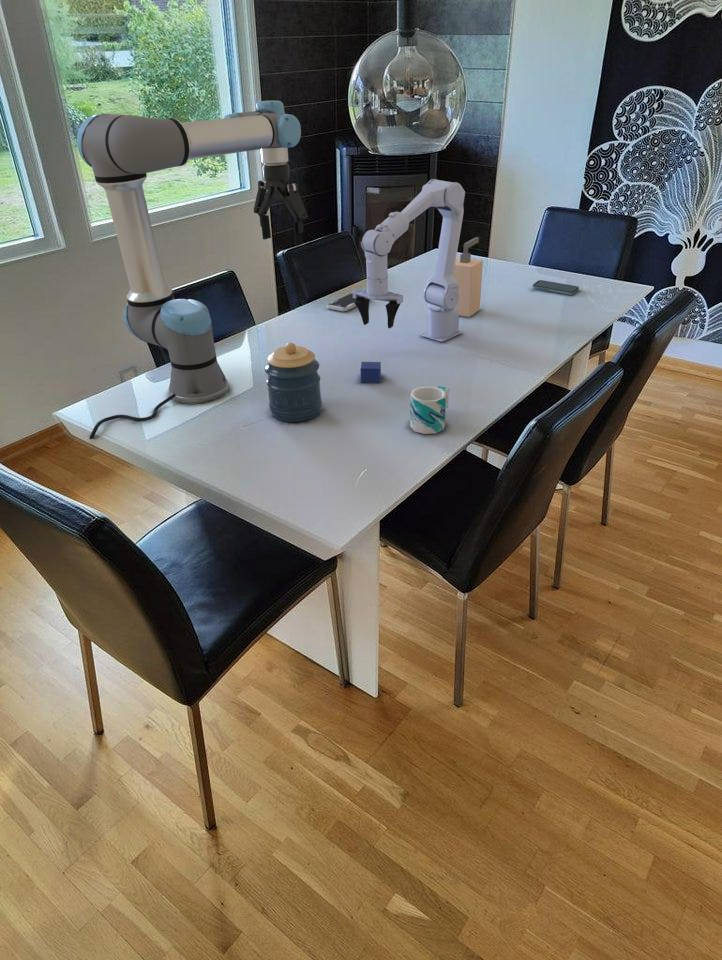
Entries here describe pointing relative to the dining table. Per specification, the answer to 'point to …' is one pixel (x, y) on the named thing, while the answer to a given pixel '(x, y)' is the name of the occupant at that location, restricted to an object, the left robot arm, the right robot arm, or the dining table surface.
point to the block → (370, 372)
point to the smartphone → (343, 303)
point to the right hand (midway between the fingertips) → (378, 325)
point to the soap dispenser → (468, 281)
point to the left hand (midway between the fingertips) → (282, 241)
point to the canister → (293, 384)
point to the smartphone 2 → (555, 287)
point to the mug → (428, 409)
